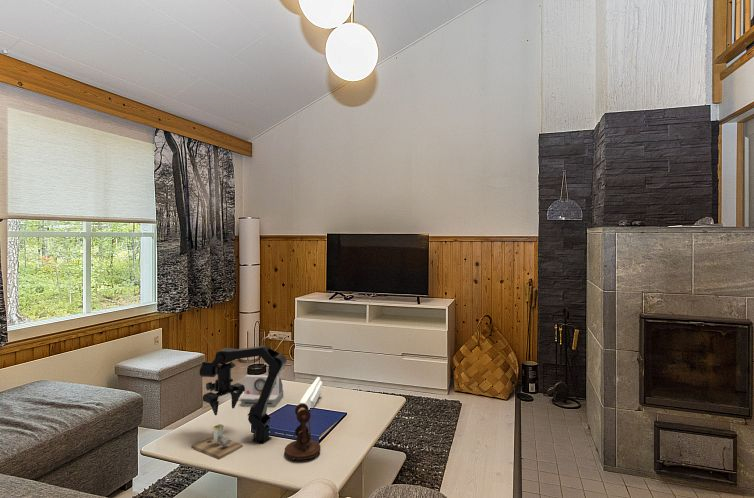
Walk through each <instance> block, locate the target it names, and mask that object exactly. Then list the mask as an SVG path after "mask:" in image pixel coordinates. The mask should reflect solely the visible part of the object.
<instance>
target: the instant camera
mask: <svg viewBox="0 0 754 498" xmlns="http://www.w3.org/2000/svg"><path fill="white" fill-rule="evenodd" d="M267 377H268V374H262V375H261V374H258V375H257V374H256V375H255V374H246V375H245V376H244V377H243V385H244V386H245V391H243V395H242V396H240V398H241V407H244V408H251V406H252V405H254V404H255V403H256V402H258V400H259V397H260V395H261V392H262V390H263V387H264V384H265V382H266V379H267ZM282 399H284V389H283V381H282V378H280V374H279V375H278V377H277V380H276V382H275V385H274V387H273V390H272V392H271V395H270V397H269V400H268V403H267V408H270V409H274V408H276V407H277V405H278V404H280V402H281V401H282Z"/></svg>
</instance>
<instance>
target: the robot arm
mask: <svg viewBox="0 0 754 498" xmlns="http://www.w3.org/2000/svg"><path fill="white" fill-rule="evenodd" d="M254 357H260V358H262V360H263V361H264V363H265V364H266V365H268V368H267V369H268V370H267V371H268V372H267V373H268V374H267V375H268V377H267V379H266V382H265V384H264V387H263V390H262V392H261V395H260V397H259V400H258V402H256V403H255V404H254V405H252V406H251V407H249V408H250V409H249V413H248V414H247V416H248V417H247V420H248V422H249V424H250V426H251V429H252V430H253V438H251V442H254V443H257V444H259V445H263V444H264V443H266V442H269V441H270V440H272V436H270V425H269V423H270V422H271V420H272V418H271V416H270V415H269V414H268V413H267V411H268V407H267V403H268V400H269V397H270V395H271V392H272V390H273V387H274V385H275V382H276V380H277V377H278V375H279V376H280V374H281V372H282V370H283V369H284V368H285V366H286V364H287V361H288V359H287V358H286V356H285V355H284V354H282V353H279V352H278V351H276V350H274V349H273V348H270V347H269V346H268V345H265V344H264V345H261V346H253V347H245V348H233V347H225V348H223V349H220V350H219V351H218V352H216V353H215V356H214V359H213V361H207V360H204V361H203V362H202V363H201V366H200V367H199V368H200V369H199V376H200V377H201V378H214V377H216V376H217V379H215V382H214V383H213V382H212V381H209V382H207V383H205V389H206V390H207V391H210V392H207V393H204V394H203V395H202V402H205V403H207V404H209V405H210V407H211V409H212V412H213V414H214V416H217V415H218V412H219V404H220V401H219V397H222V396H225V395H228V394H230V396H231V409H235V407H236V405H237V403H238V400H239V399H240V398H241V397H242V396H241V395H242V394H244V391H245V386H244V384H243V383H232V382H233V381H234V379H233V378H232V369H233V368H234V367H236V364H235V363H234V362H233V361H235V360H238V359H246V358H254ZM213 391H214V392H213Z"/></svg>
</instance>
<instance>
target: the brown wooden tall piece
mask: <svg viewBox="0 0 754 498" xmlns="http://www.w3.org/2000/svg"><path fill="white" fill-rule="evenodd" d="M308 410H310V409H308V406H307V405H306V404H303V403H302V404H300V403H299V404H297V405H296V406H295V409H294V412H295V415H296V420H297V422H298V423H299V425H298V426H297V427H296V428H295V430H294V434H295V437H296V440H293V441H292V442H290V443H288V444H286V445H285V448H284V454H285V456H286V457H287V458H289V459H290V461H291V462H294V460H307V459H311V458H315V459H317V457H318V455H319V454H320V452H321V444H320V443H319V442H318V441H315V440H313V439H312V431H311V430H312V429H311V423H310V422H311V421H310V420H311V417H312V416H311V412H310V411H308Z"/></svg>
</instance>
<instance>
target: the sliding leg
mask: <svg viewBox="0 0 754 498" xmlns="http://www.w3.org/2000/svg"><path fill="white" fill-rule="evenodd" d="M212 428H213V429H212V430H213V435H214V442H215V443H217V445H220V440H222V439H223V438H224V425H223V424H217V425H215V426H213V427H212Z"/></svg>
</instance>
